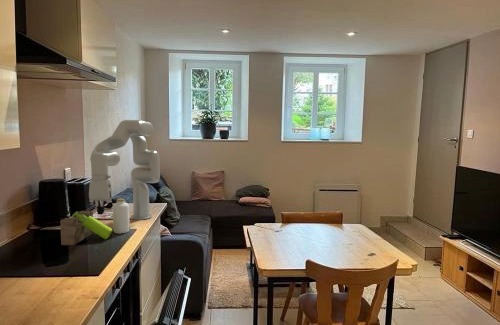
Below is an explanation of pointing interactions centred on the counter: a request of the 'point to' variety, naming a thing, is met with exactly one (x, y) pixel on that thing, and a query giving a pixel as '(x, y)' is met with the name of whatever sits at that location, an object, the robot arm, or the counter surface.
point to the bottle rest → (74, 229)
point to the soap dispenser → (94, 225)
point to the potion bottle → (120, 217)
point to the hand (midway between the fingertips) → (100, 213)
